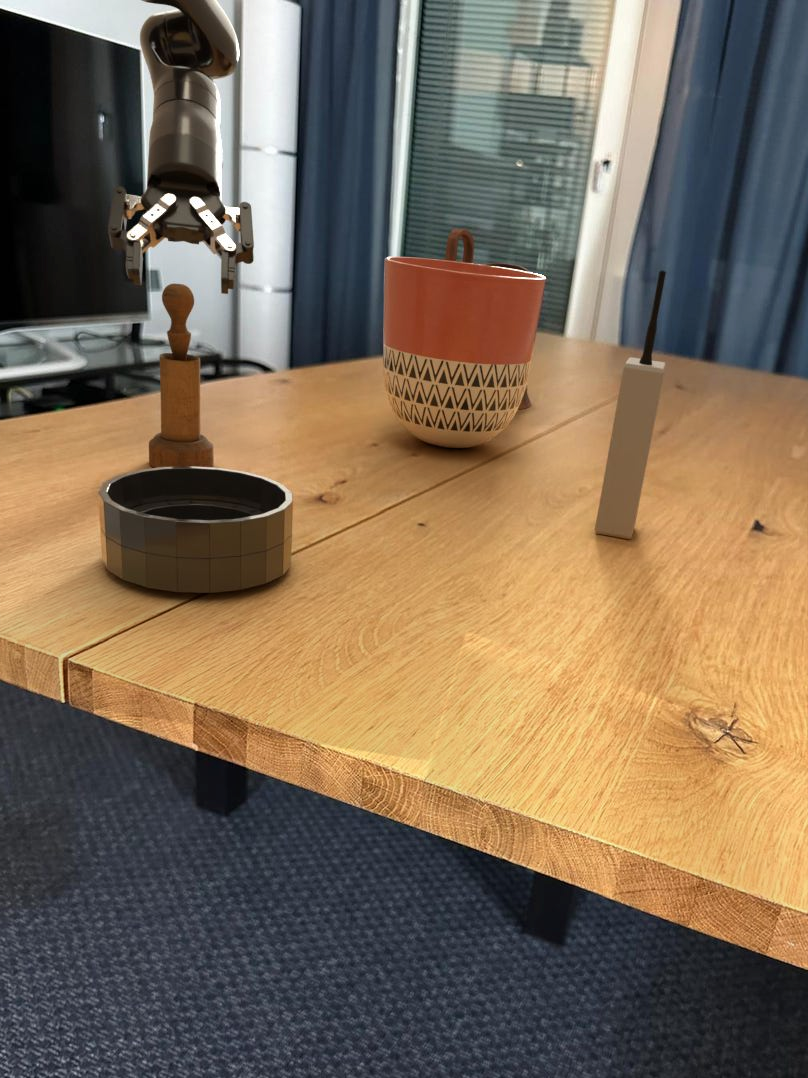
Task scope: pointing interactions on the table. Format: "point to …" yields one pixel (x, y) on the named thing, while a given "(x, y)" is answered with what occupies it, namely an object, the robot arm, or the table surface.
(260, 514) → the bowl
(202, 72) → the robot arm
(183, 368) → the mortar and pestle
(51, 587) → the table surface
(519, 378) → the planter
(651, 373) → the vintage mobile phone
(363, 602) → the table surface
